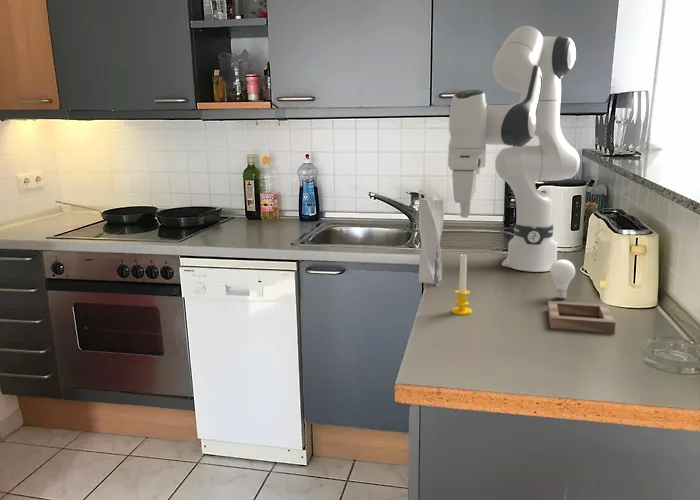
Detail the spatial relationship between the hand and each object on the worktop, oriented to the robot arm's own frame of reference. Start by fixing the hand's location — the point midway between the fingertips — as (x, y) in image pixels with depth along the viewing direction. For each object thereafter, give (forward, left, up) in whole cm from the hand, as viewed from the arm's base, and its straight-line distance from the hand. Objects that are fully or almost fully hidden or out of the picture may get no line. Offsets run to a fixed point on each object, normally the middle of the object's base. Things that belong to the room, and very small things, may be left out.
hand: (465, 216), depth 148 cm
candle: (0, 0, -25) cm, 25 cm away
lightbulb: (-18, +25, -25) cm, 40 cm away
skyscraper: (-25, -12, -25) cm, 38 cm away
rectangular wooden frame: (0, +28, -25) cm, 37 cm away
